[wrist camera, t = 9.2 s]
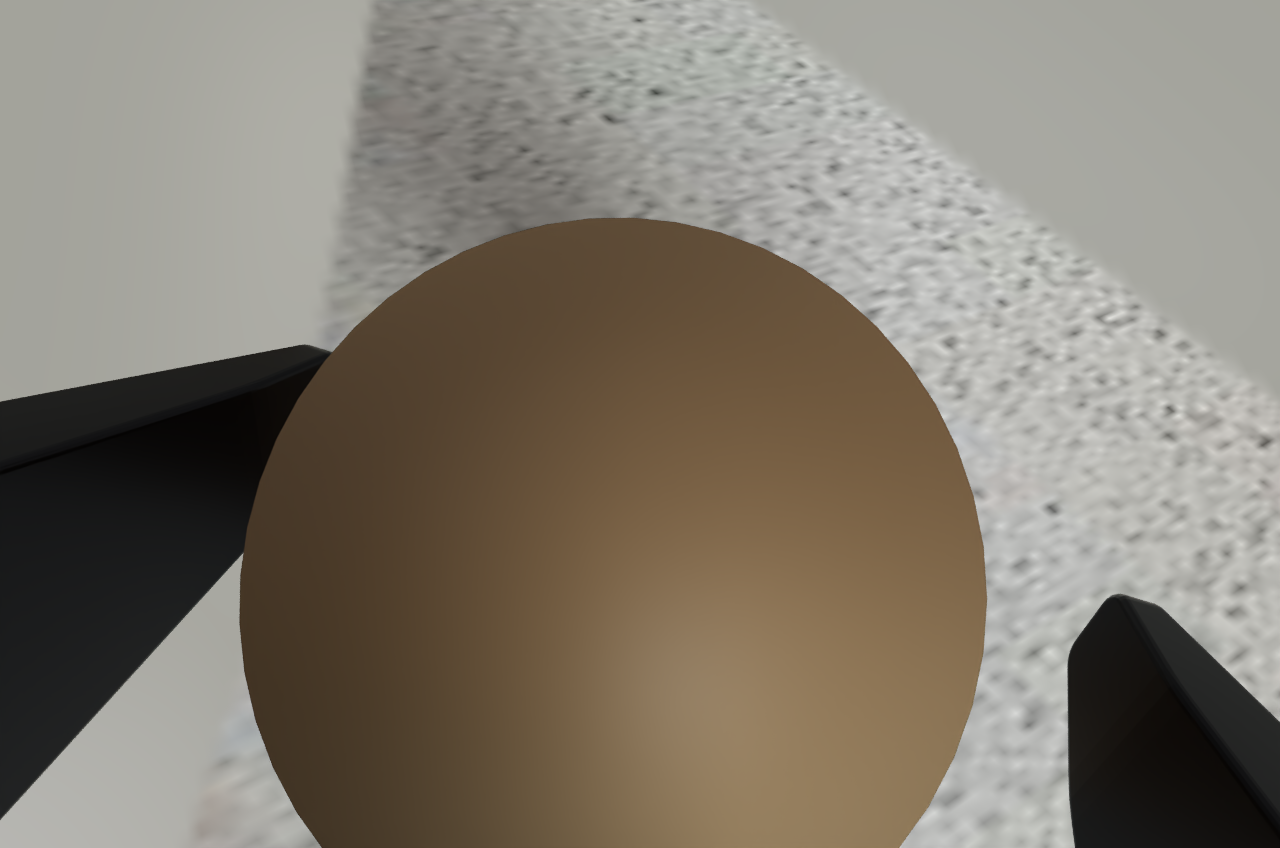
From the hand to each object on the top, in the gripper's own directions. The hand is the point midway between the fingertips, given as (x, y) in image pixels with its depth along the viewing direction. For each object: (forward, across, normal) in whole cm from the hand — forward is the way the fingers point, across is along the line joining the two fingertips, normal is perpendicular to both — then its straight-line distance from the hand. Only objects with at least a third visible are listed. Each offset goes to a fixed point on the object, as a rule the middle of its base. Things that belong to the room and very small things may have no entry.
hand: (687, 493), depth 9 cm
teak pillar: (+5, 0, +6) cm, 8 cm away
